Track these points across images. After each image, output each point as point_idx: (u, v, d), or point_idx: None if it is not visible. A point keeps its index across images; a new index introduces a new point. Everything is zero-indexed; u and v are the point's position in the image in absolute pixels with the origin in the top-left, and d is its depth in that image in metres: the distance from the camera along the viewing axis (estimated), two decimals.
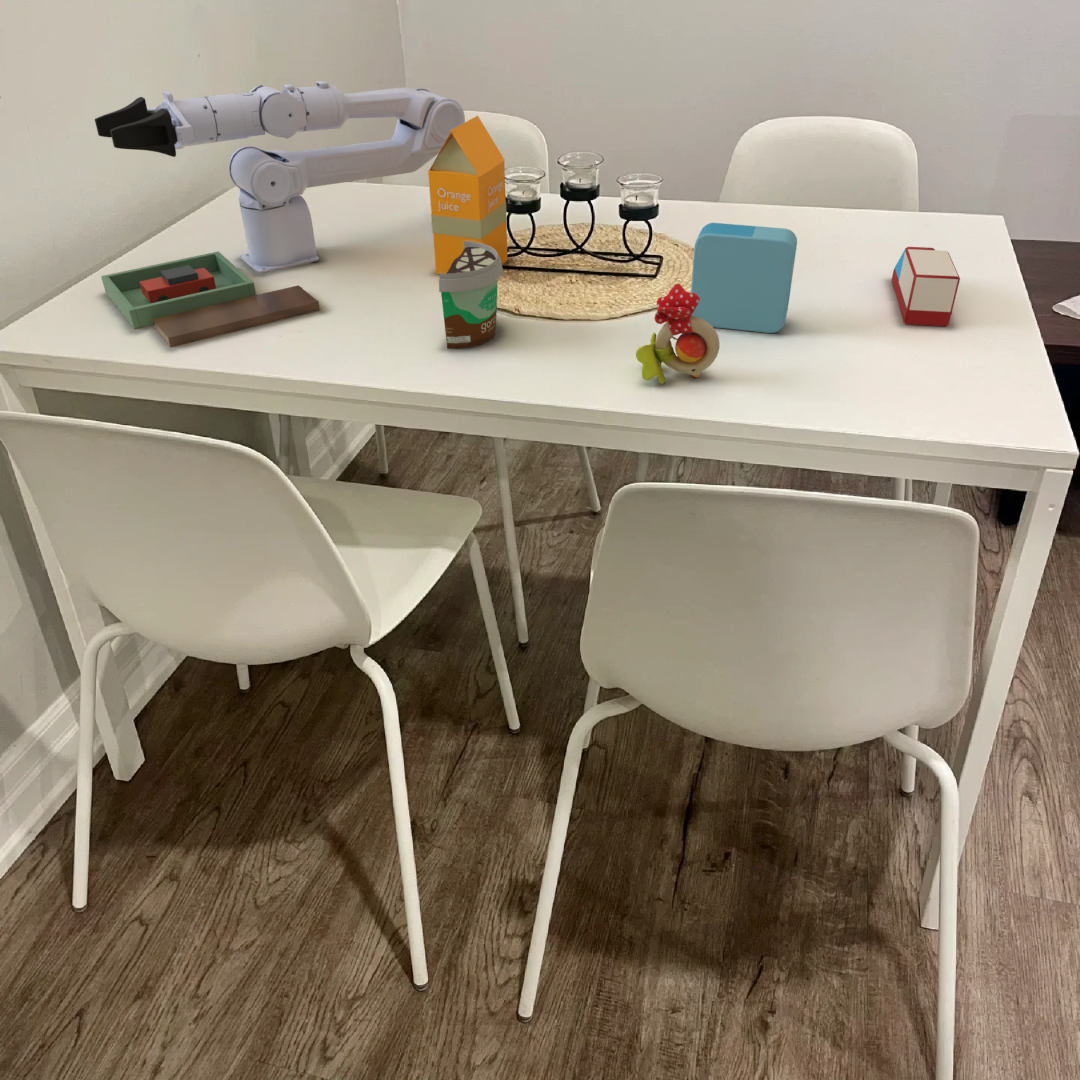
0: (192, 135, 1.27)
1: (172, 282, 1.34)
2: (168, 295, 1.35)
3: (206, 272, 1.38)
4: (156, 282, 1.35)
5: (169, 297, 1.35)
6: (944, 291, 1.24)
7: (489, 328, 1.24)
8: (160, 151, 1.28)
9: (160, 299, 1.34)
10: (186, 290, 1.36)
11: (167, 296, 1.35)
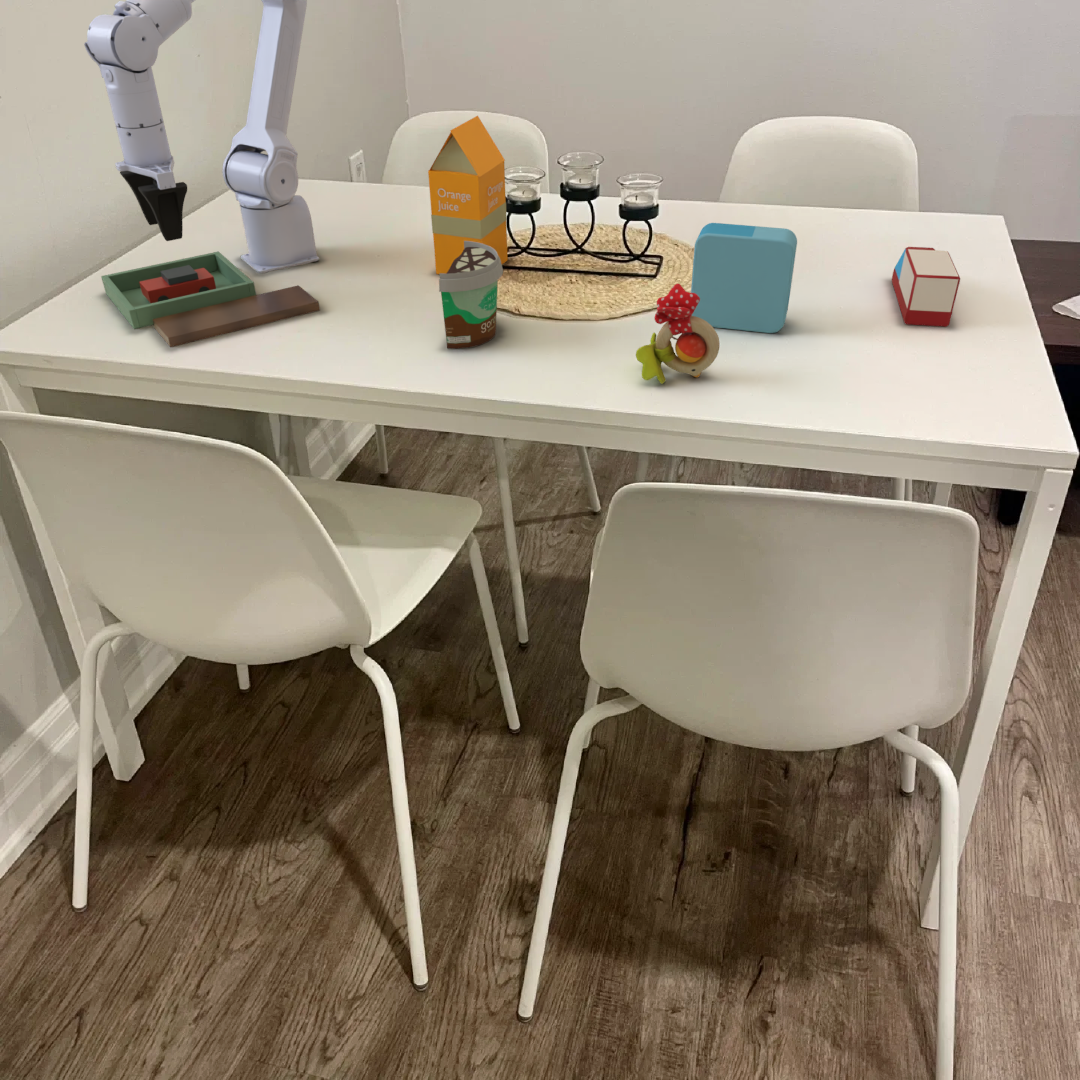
0: (165, 173, 1.22)
1: (172, 282, 1.34)
2: (168, 295, 1.35)
3: (206, 272, 1.38)
4: (156, 282, 1.35)
5: (169, 297, 1.35)
6: (945, 291, 1.24)
7: (489, 328, 1.24)
8: (183, 199, 1.26)
9: (160, 299, 1.34)
10: (186, 290, 1.36)
11: (167, 296, 1.35)
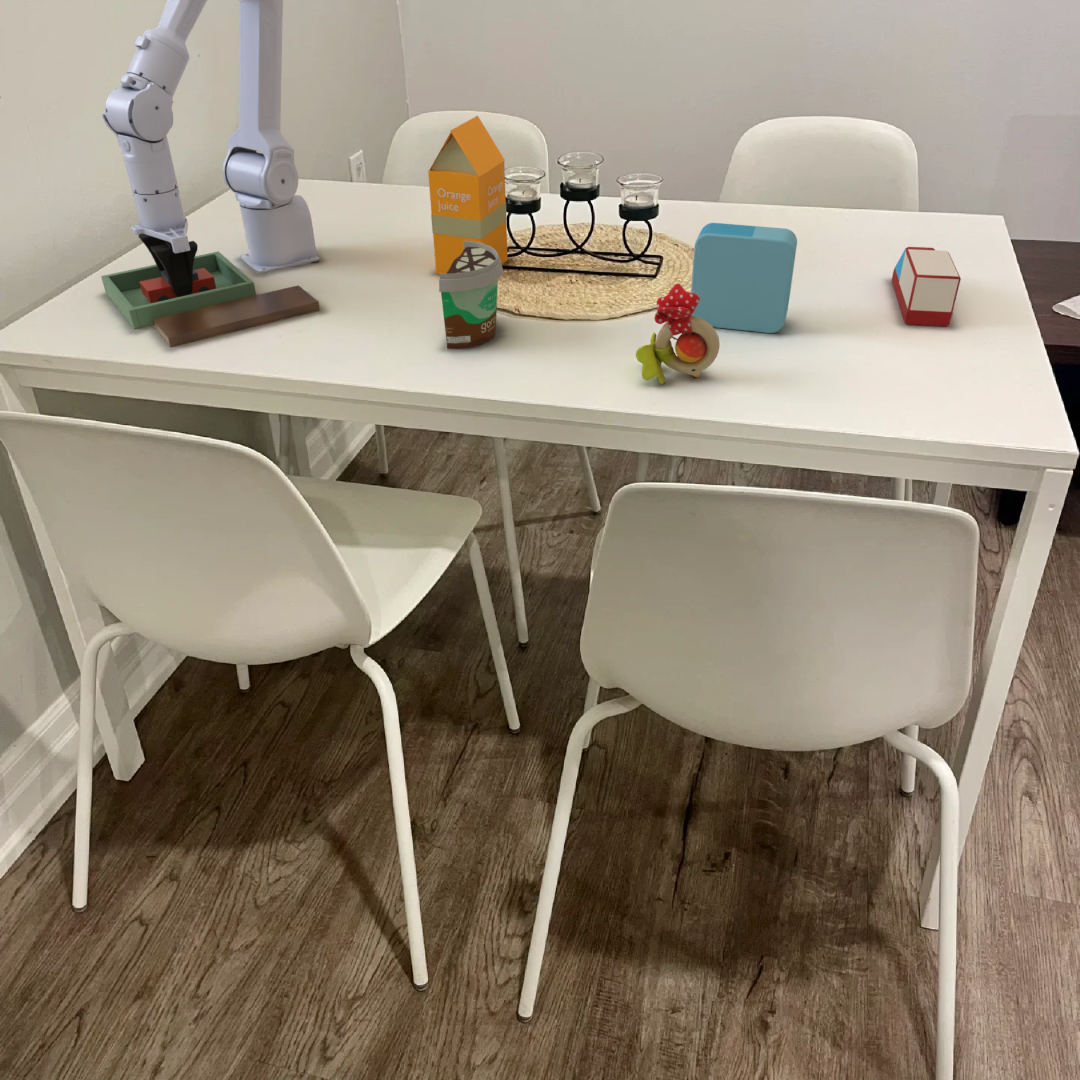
0: (180, 238, 1.27)
1: None
2: (168, 295, 1.35)
3: (206, 272, 1.38)
4: (156, 282, 1.35)
5: (169, 297, 1.35)
6: (945, 291, 1.24)
7: (489, 328, 1.24)
8: (193, 258, 1.32)
9: (160, 299, 1.34)
10: None
11: (167, 296, 1.35)
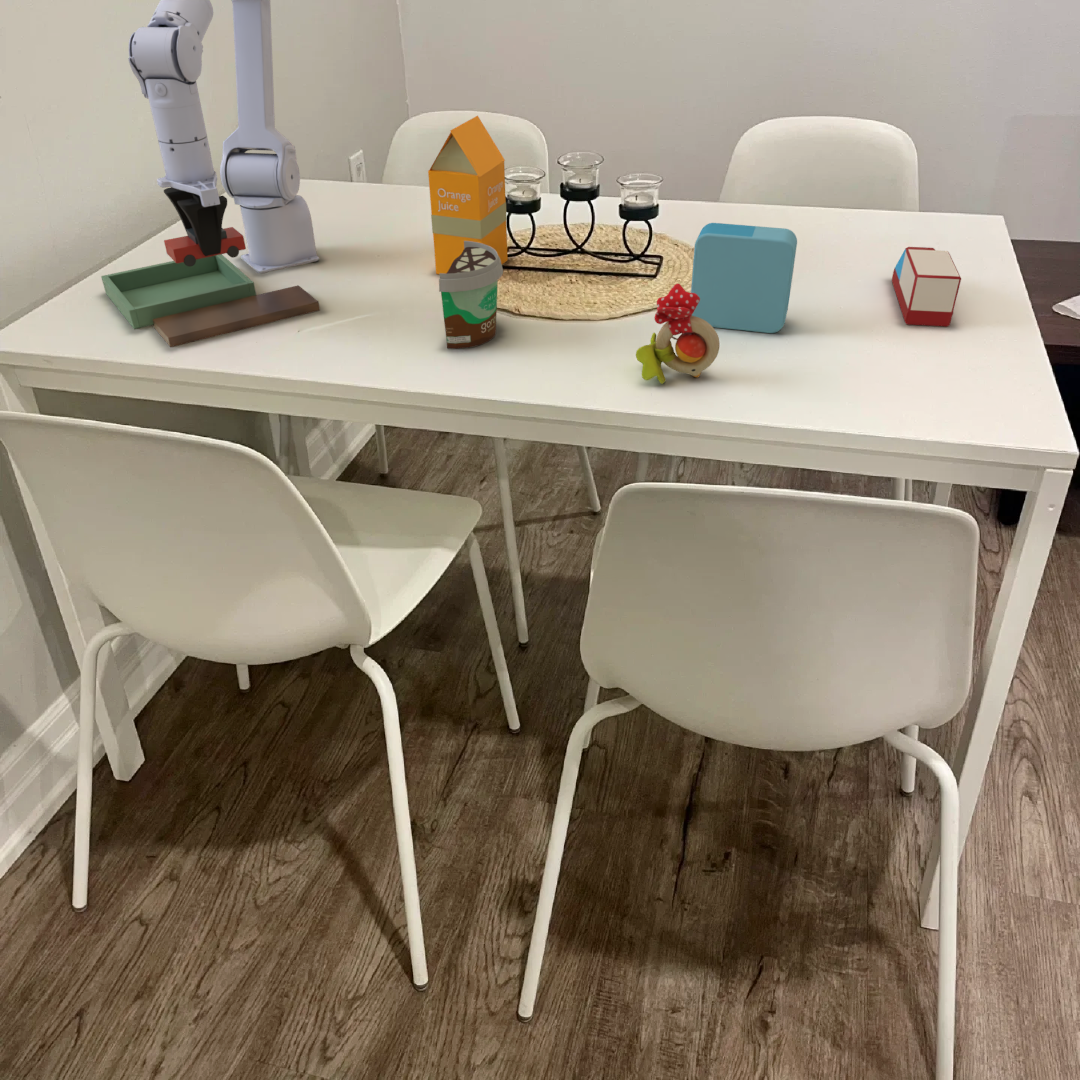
0: (210, 190, 1.18)
1: None
2: (195, 254, 1.26)
3: (235, 231, 1.29)
4: (182, 240, 1.26)
5: (196, 257, 1.26)
6: (946, 291, 1.24)
7: (489, 328, 1.24)
8: (222, 213, 1.23)
9: (186, 259, 1.25)
10: None
11: (194, 255, 1.26)
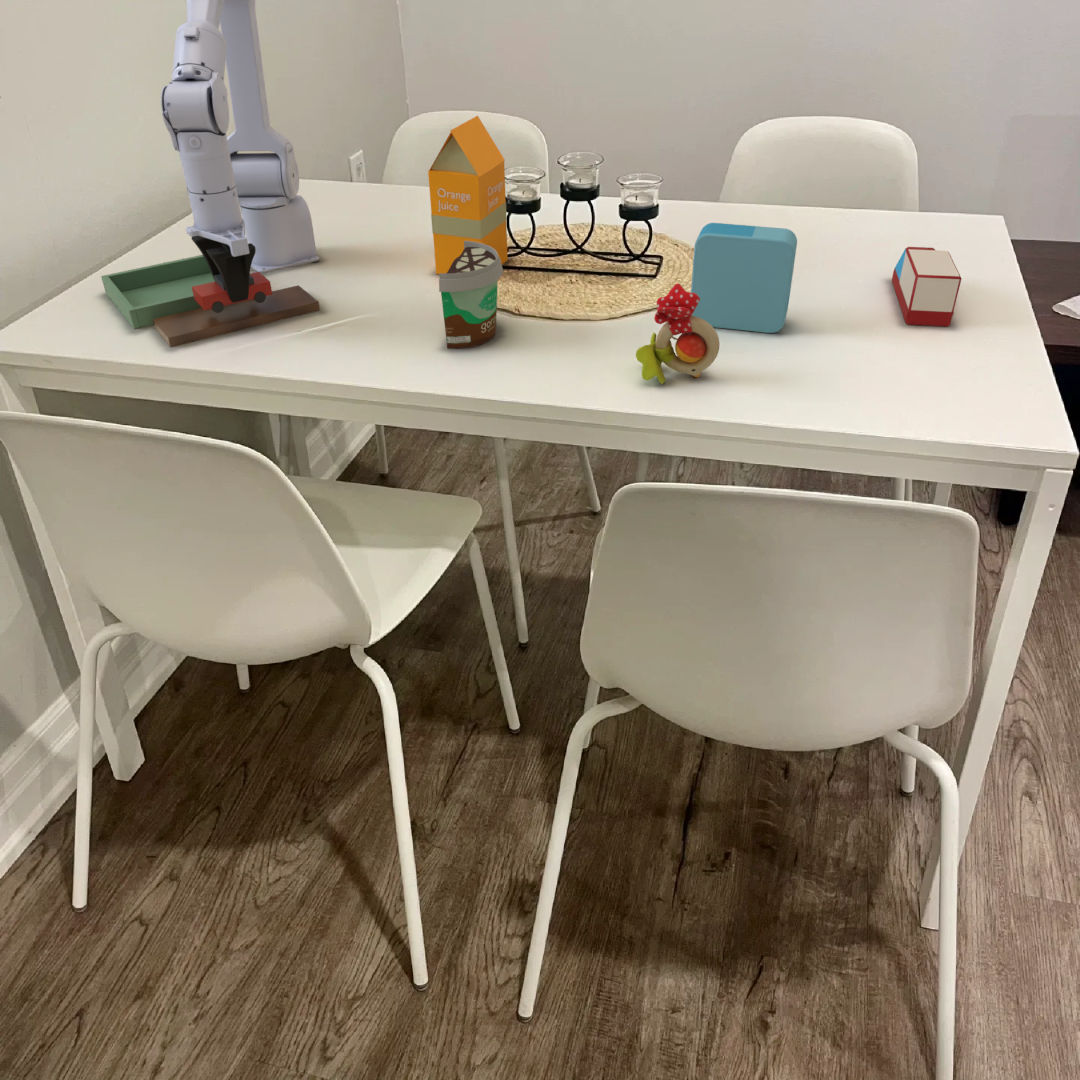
0: (239, 240, 1.19)
1: None
2: (223, 301, 1.27)
3: (261, 276, 1.30)
4: (210, 287, 1.28)
5: (224, 303, 1.27)
6: (946, 291, 1.24)
7: (489, 328, 1.24)
8: (250, 261, 1.24)
9: (214, 305, 1.26)
10: None
11: (222, 302, 1.27)
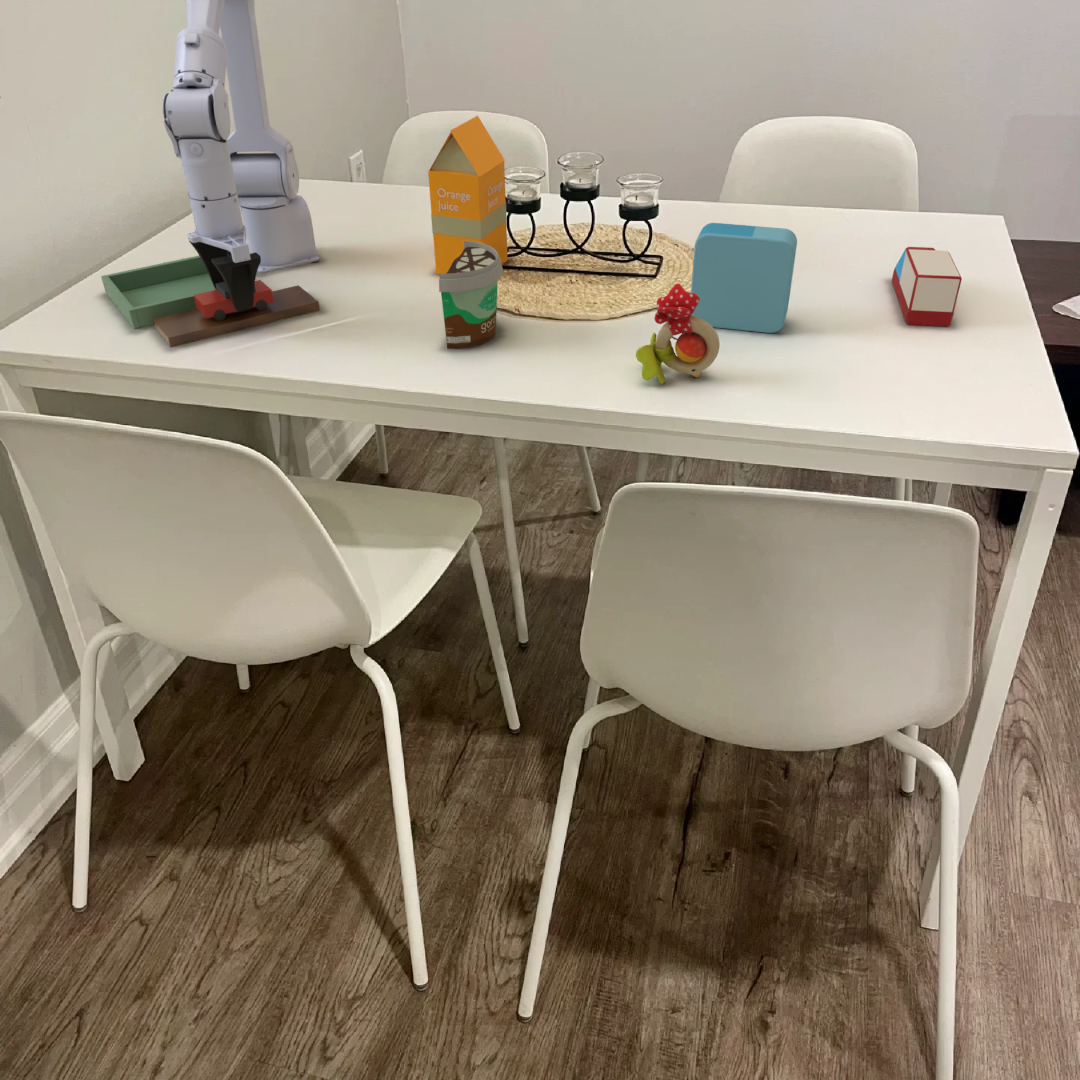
0: (241, 247, 1.20)
1: (229, 295, 1.27)
2: (224, 309, 1.27)
3: (263, 285, 1.31)
4: (212, 295, 1.28)
5: (225, 311, 1.28)
6: (946, 291, 1.24)
7: (489, 328, 1.24)
8: (256, 271, 1.24)
9: (216, 313, 1.27)
10: None
11: (223, 310, 1.27)
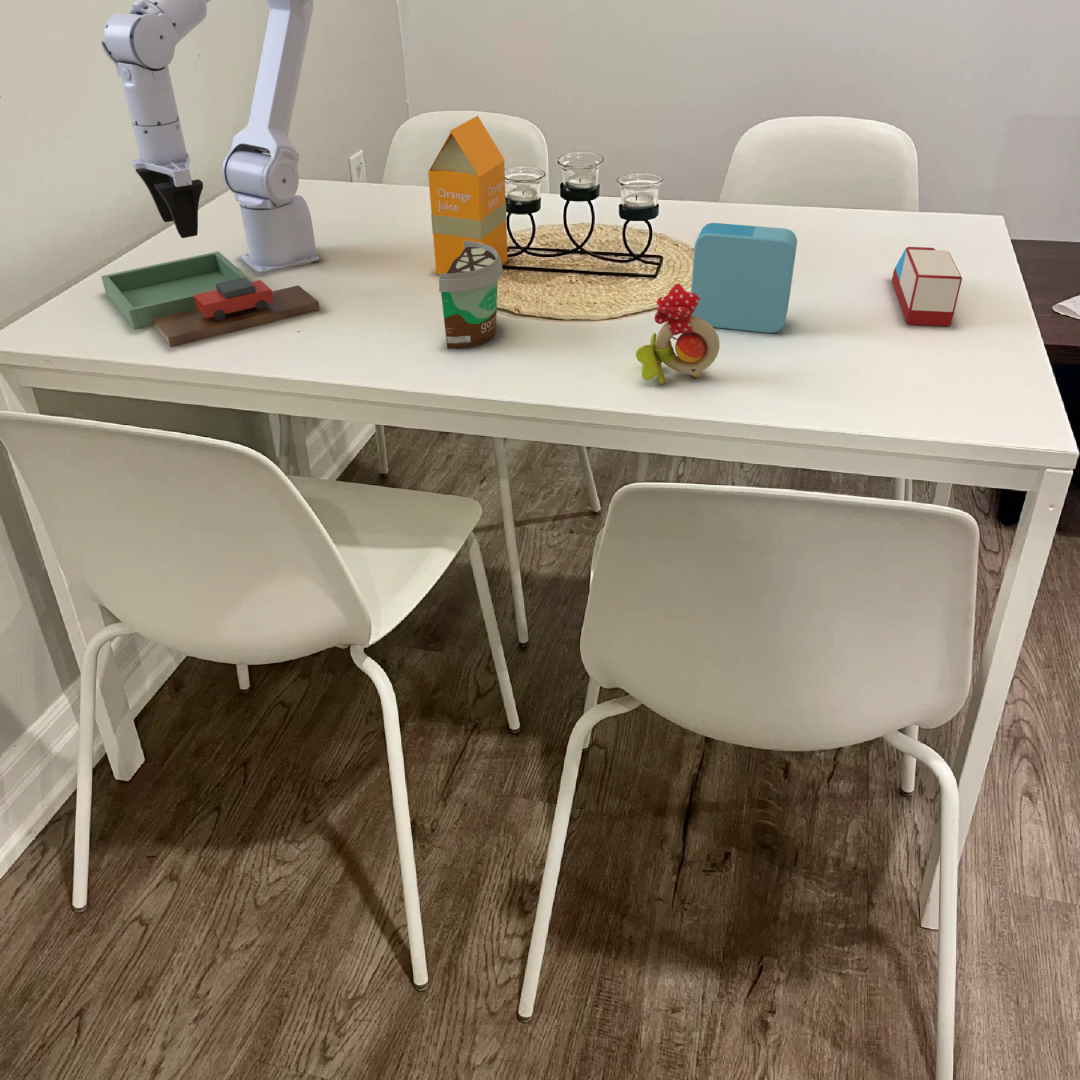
0: (182, 171, 1.23)
1: (229, 295, 1.27)
2: (224, 309, 1.27)
3: (263, 285, 1.31)
4: (212, 295, 1.28)
5: (225, 311, 1.28)
6: (947, 291, 1.24)
7: (489, 328, 1.24)
8: (198, 197, 1.27)
9: (216, 313, 1.27)
10: (243, 304, 1.28)
11: (223, 310, 1.27)
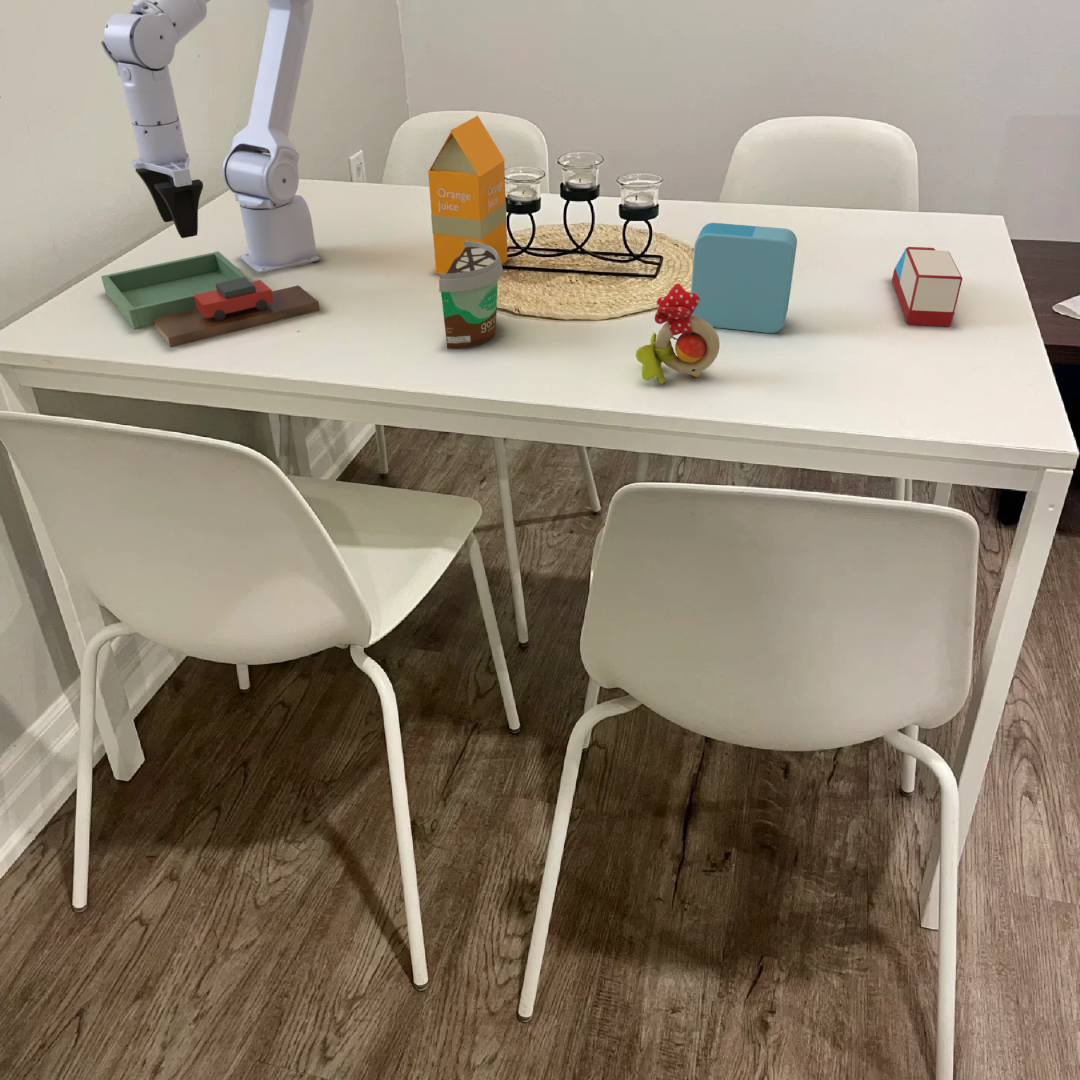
0: (182, 171, 1.23)
1: (229, 295, 1.27)
2: (224, 309, 1.27)
3: (263, 285, 1.31)
4: (212, 295, 1.28)
5: (225, 311, 1.28)
6: (947, 291, 1.24)
7: (489, 328, 1.24)
8: (198, 197, 1.27)
9: (216, 313, 1.27)
10: (243, 304, 1.28)
11: (223, 310, 1.27)
